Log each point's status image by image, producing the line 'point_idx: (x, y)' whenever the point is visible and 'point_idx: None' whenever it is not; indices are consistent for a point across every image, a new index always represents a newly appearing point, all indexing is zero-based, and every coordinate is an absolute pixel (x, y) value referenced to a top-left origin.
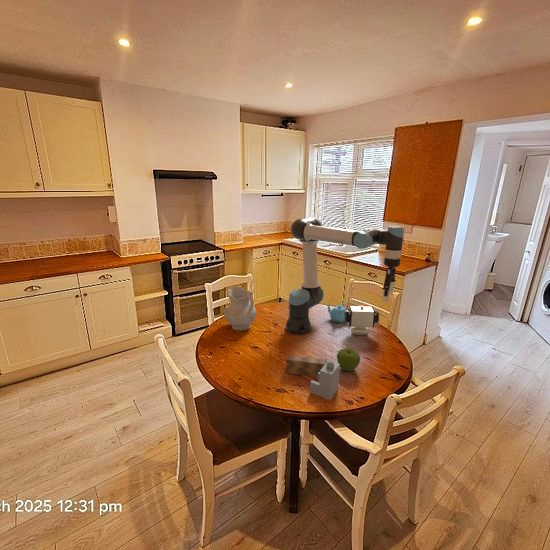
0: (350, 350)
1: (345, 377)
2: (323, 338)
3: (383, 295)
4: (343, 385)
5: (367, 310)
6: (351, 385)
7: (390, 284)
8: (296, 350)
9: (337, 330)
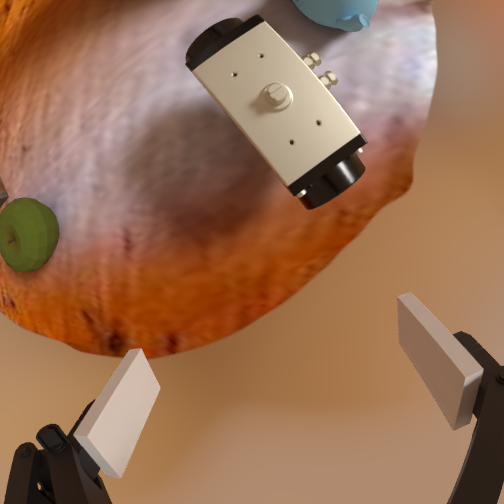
0: (18, 238)
1: None
2: (139, 48)
3: (105, 390)
4: None
5: (277, 140)
6: None
7: (445, 379)
8: (34, 63)
9: None
